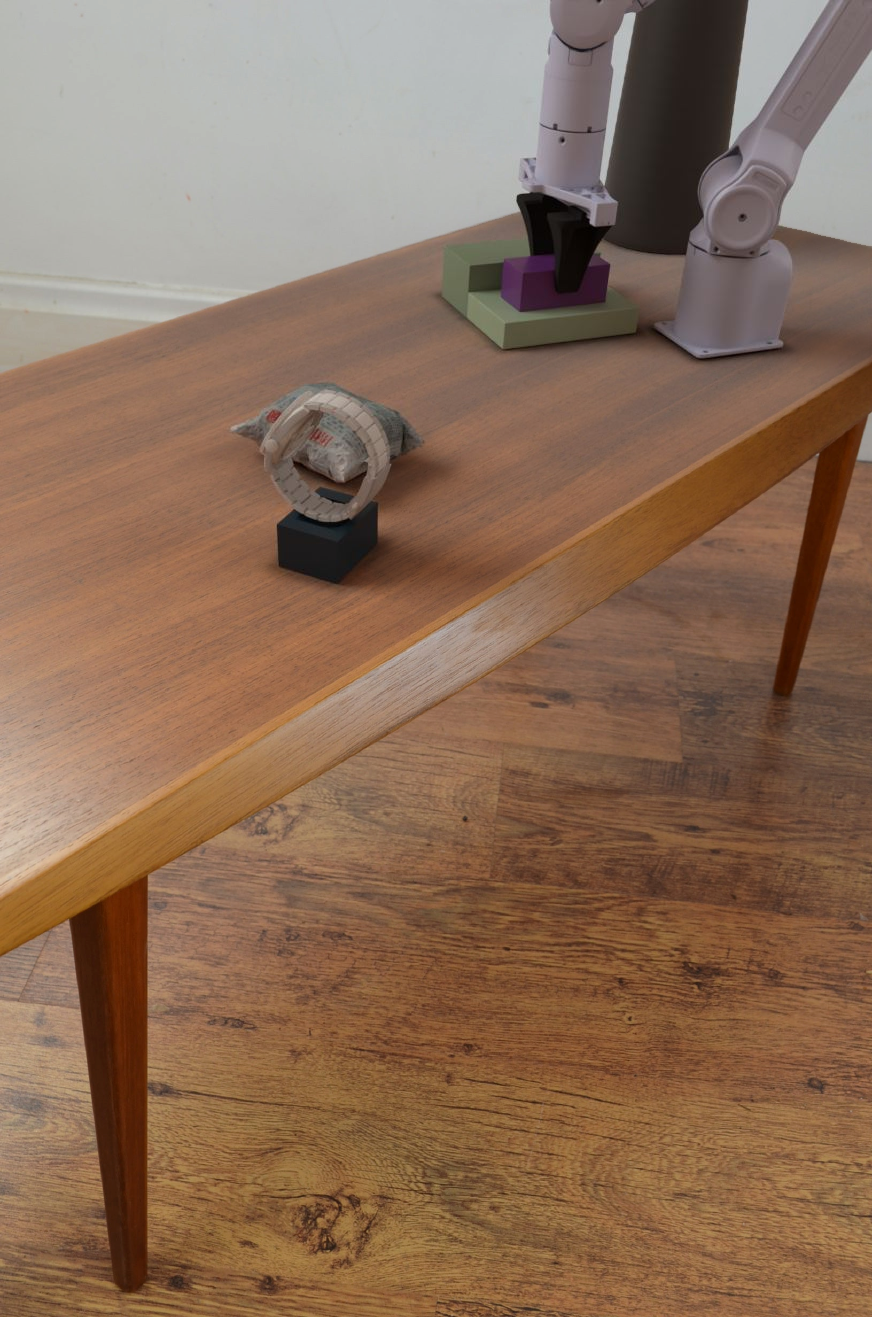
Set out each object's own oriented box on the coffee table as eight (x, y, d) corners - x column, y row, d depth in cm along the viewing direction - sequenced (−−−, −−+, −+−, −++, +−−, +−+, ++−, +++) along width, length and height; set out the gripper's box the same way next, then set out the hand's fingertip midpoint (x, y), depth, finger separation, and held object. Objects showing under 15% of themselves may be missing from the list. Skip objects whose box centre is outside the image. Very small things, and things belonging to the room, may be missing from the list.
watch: (295, 520, 78) (290, 367, 72) (401, 550, 76) (406, 394, 69) (251, 559, 74) (241, 400, 68) (362, 592, 72) (363, 431, 65)
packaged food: (343, 510, 80) (344, 445, 77) (229, 453, 85) (225, 390, 83) (426, 469, 85) (429, 407, 82) (313, 418, 91) (312, 359, 88)
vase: (593, 246, 128) (632, -58, 111) (600, 211, 139) (636, -71, 121) (717, 259, 127) (776, -48, 109) (714, 222, 137) (767, -62, 120)
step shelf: (566, 282, 118) (571, 233, 115) (636, 332, 108) (644, 280, 105) (441, 296, 114) (443, 244, 111) (502, 349, 104) (507, 295, 101)
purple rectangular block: (584, 287, 110) (589, 249, 108) (605, 302, 107) (610, 263, 105) (500, 297, 107) (503, 258, 105) (519, 312, 104) (523, 272, 102)
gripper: (494, 107, 102) (483, 261, 110) (572, 148, 92) (553, 315, 100) (564, 104, 104) (548, 254, 113) (647, 144, 94) (623, 307, 102)
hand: (555, 282), depth 106 cm, fingers closed on purple rectangular block, 4 cm apart
